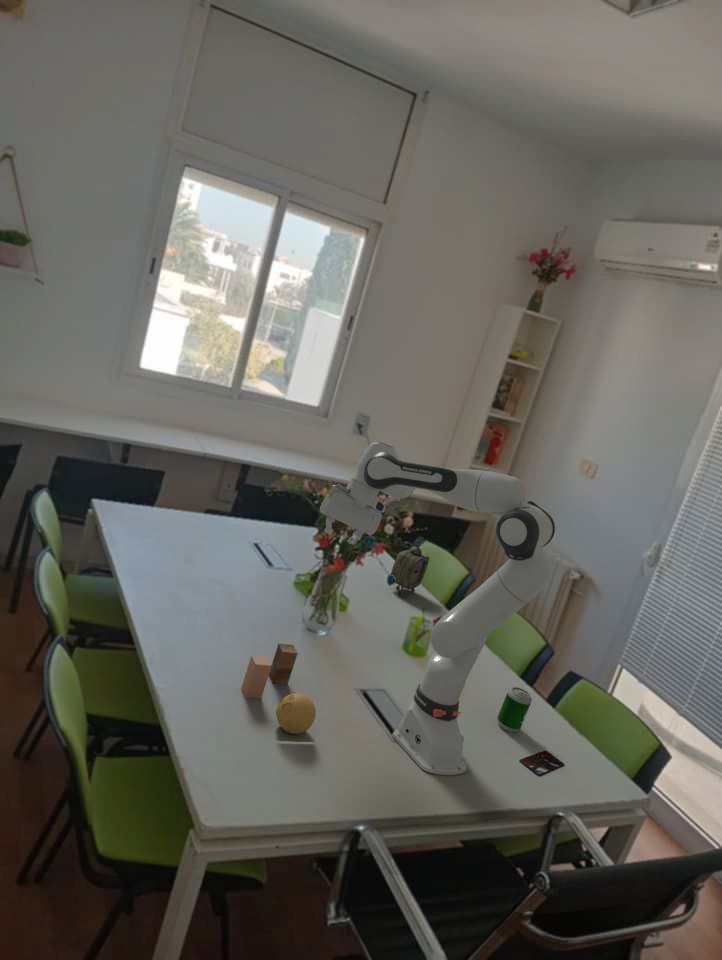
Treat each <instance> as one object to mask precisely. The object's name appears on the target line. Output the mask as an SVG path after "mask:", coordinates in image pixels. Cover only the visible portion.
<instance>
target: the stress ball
mask: <svg viewBox="0 0 722 960" xmlns="http://www.w3.org/2000/svg"><path fill="white" fill-rule="evenodd" d="M275 714H276V720H277V723H278V725H279V726H280V728H282V730H284V731H285V732H287V733H289V734H293V735H294V734H295V735H299V734H302V733H304V732H306V731H308V730H310V728H311V727H312V726H313V724H314V722H315V719H316V706H315V704H314V702H313V701H312V699H311V698H310V697H309V696H307V695H306V694H303V693H300V692H296V691H295V692H291V693H288V695H286V696H285V697H282V698H281V699H280V701H279V704H278V705H277V707H276V711H275Z"/></svg>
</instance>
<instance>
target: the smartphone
mask: <svg viewBox="0 0 722 960" xmlns="http://www.w3.org/2000/svg"><path fill="white" fill-rule="evenodd" d="M519 763H521V765H523V766H524V767H525V768H526V769H528V771H531V773H533V774H534V775H536V776H537V777H542V776H543V775H546V774H548V773H551V772H553V771H555V770H558V769H559V768H562V767H564V766H565V763H564V762H563V761H562V760H560V759H559V758H557V757H556V756H554V754H552V753H550V752H549V751H548V750H542V751H540V752H539V751H538V752H537V753H534V754H532V755H528V756H525V757H523V758H521V759H519Z"/></svg>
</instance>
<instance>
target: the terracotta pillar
mask: <svg viewBox="0 0 722 960" xmlns="http://www.w3.org/2000/svg"><path fill="white" fill-rule="evenodd" d="M271 666H272V662H271V661H270V660H269V657H268V656H264V655H250V659H249V662H248V666H247V668H246V672H245V676H244V678H243V682H242V685H241V690H242V693H243V696H244V698H246V699H259V700H260V699H262V697H263V694H264V692H265V687H266V684H267V681H268V679H269V677H270V676H269V672H270V669H271Z"/></svg>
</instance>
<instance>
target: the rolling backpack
mask: <svg viewBox="0 0 722 960" xmlns="http://www.w3.org/2000/svg"><path fill="white" fill-rule="evenodd" d="M419 540H421V543H417V542H418V541H419ZM423 543H424V537H418V538H417V539H416V540H415V543H414V546H412V547H411V548H409V549H406V550H403V551H400V552H398V553H397V556H396V557H395V560H394V562H393V565H392V569H391V572H390V575H393V576H394V577H395V578H396V582H395V584H397V586H396V587H395V589H396V590H400V592H399V597H403V596H404V593H403V592H404V589H406V590H409V591H410V592H412V593H415V588H417V587H419V586H420V585H421V583H422V582H423V581H422V580H423V579H424V577H425V574H426V571H427V568H428V565H429V561H430V557H429V556H427V555H425V554H423V553H422V549H421V548H420V547H421V546H422V545H423Z"/></svg>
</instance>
